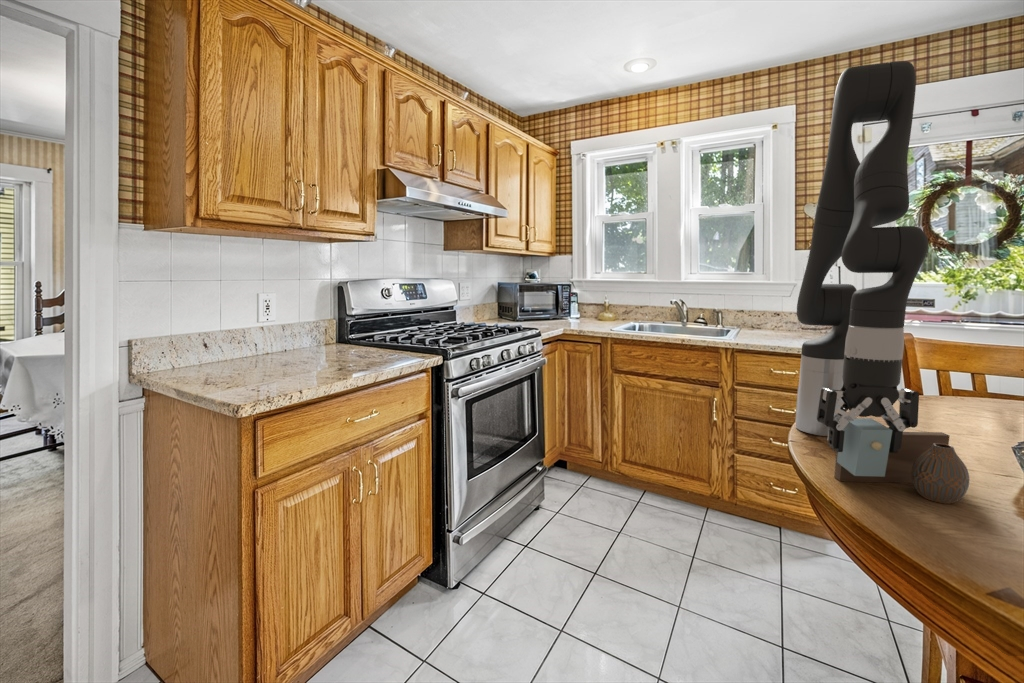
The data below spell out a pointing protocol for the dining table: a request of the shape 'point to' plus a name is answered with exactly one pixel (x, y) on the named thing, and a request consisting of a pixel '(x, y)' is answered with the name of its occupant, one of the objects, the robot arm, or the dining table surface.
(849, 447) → the cabinet
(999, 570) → the dining table surface
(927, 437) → the wall board
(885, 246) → the robot arm
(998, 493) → the dining table surface
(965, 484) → the vase
